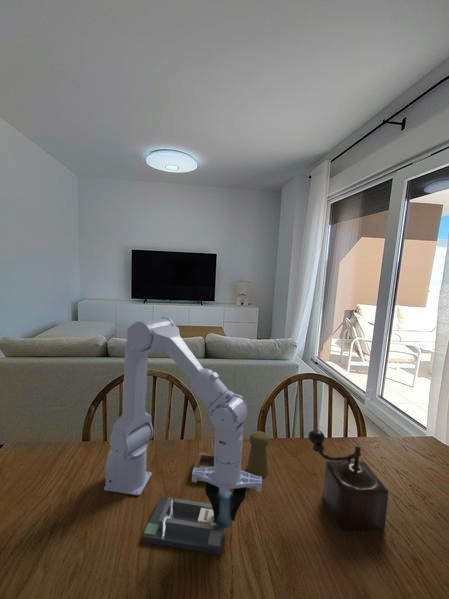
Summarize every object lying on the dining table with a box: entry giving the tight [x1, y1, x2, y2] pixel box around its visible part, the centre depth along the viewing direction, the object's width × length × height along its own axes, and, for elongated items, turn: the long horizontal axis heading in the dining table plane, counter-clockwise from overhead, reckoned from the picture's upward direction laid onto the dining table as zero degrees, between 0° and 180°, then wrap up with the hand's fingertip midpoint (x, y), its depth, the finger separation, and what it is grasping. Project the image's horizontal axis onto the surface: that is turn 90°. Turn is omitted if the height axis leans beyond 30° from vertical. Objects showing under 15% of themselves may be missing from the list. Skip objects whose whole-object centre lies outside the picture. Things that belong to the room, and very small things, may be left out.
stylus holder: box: [192, 452, 214, 483], centre depth 81 cm, size 8×8×3 cm
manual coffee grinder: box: [308, 429, 389, 532], centre depth 69 cm, size 16×11×18 cm
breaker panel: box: [142, 496, 226, 556], centre depth 64 cm, size 16×10×3 cm, turn 82°
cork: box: [246, 430, 270, 479], centre depth 82 cm, size 6×6×11 cm
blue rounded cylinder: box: [218, 491, 233, 529], centre depth 62 cm, size 3×3×6 cm
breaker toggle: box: [198, 508, 214, 525], centre depth 63 cm, size 3×3×2 cm
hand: (224, 515), depth 62 cm, fingers closed on blue rounded cylinder, 3 cm apart
